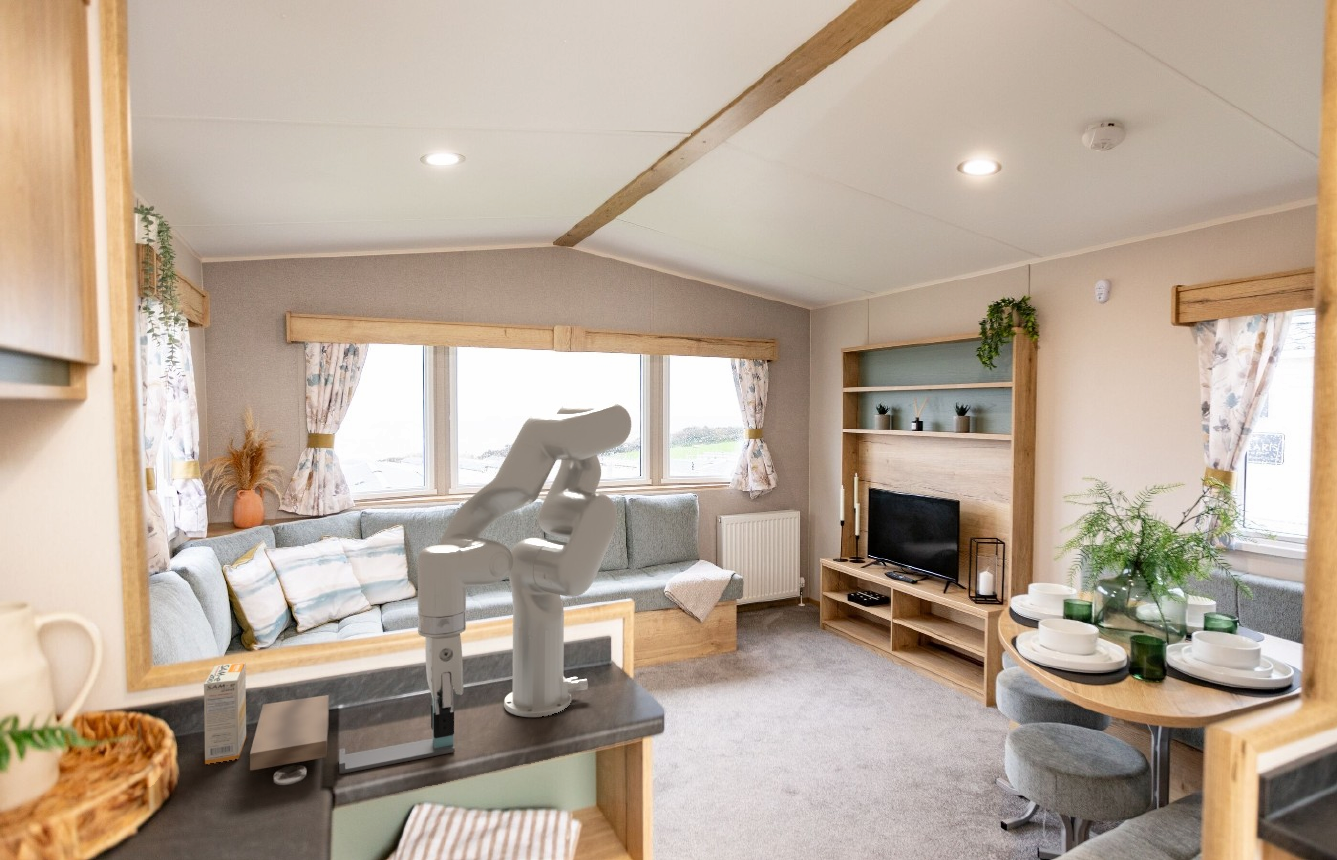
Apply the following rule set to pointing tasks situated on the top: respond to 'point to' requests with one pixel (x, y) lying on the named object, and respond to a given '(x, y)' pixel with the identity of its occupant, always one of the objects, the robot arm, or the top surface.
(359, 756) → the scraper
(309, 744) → the low block
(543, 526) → the robot arm
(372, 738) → the top surface
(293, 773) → the steel token
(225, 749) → the supplement box
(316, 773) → the top surface
